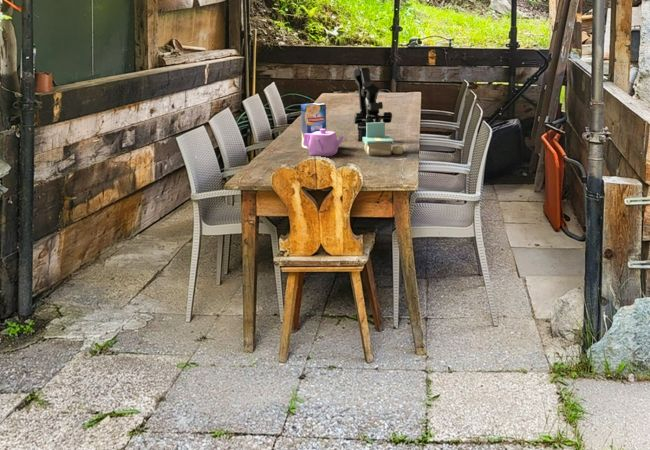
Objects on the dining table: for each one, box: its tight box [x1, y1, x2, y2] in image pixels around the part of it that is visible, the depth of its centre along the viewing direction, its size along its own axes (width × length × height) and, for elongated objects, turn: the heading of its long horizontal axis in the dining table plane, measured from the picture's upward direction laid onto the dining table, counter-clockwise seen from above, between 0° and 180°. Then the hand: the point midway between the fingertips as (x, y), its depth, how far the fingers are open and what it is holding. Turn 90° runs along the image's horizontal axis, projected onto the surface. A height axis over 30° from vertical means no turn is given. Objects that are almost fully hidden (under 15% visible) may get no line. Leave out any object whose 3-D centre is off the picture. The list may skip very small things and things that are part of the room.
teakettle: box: [303, 128, 346, 157], centre depth 417 cm, size 17×17×12 cm
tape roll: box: [392, 145, 404, 155], centre depth 417 cm, size 5×5×3 cm
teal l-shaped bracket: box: [362, 121, 394, 146], centre depth 415 cm, size 14×13×9 cm
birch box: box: [363, 142, 392, 157], centre depth 417 cm, size 14×11×6 cm
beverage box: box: [300, 102, 327, 149], centre depth 436 cm, size 7×11×22 cm, turn 118°
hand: (375, 131), depth 422 cm, fingers closed, pressing on teal l-shaped bracket
